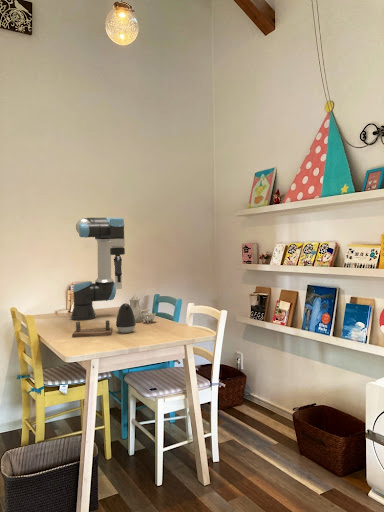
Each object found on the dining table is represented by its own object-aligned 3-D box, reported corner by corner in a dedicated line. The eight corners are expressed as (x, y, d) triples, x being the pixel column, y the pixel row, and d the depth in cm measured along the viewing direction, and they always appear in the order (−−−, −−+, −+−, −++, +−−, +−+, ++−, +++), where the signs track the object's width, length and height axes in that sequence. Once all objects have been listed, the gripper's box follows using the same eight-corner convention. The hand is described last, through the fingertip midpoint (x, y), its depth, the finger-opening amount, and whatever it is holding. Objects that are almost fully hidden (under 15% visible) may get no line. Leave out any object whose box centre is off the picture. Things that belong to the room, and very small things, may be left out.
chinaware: (160, 326, 235) (162, 297, 236) (132, 325, 228) (134, 296, 229) (144, 319, 261) (146, 293, 261) (119, 318, 254) (121, 292, 254)
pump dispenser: (119, 335, 204) (118, 305, 204) (113, 331, 213) (113, 303, 213) (138, 332, 209) (138, 303, 209) (132, 329, 218) (131, 301, 218)
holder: (76, 332, 214) (76, 320, 214) (112, 330, 217) (112, 318, 216) (72, 337, 201) (71, 324, 201) (110, 335, 204) (110, 322, 204)
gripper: (109, 248, 221) (110, 286, 221) (110, 246, 197) (112, 290, 197) (123, 247, 223) (124, 285, 223) (126, 246, 199) (127, 289, 199)
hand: (118, 287), depth 210 cm, fingers open, 13 cm apart
